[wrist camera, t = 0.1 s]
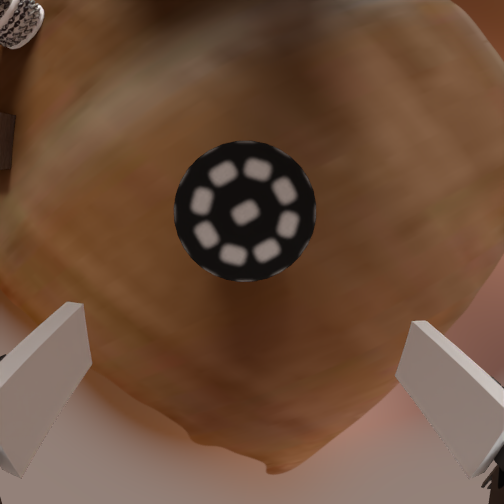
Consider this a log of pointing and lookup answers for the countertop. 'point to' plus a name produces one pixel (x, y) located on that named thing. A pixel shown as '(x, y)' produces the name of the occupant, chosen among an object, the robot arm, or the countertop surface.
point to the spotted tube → (245, 211)
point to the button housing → (6, 139)
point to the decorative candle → (19, 22)
